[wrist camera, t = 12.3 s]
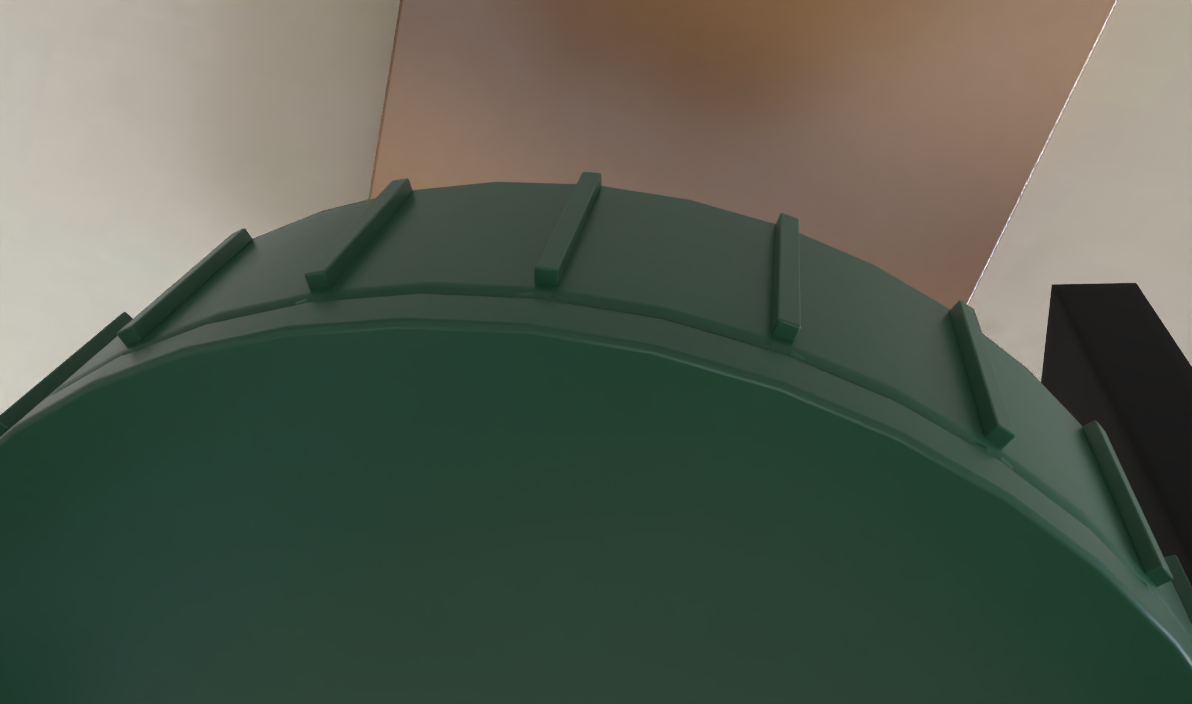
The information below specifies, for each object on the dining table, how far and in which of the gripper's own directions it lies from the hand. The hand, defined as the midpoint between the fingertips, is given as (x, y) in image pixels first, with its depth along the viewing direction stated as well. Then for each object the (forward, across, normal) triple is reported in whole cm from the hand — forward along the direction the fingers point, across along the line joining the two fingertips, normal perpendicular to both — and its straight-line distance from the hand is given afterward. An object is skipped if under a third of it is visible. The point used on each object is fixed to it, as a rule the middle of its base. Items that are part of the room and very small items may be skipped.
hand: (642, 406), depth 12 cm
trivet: (+11, 0, 0) cm, 11 cm away
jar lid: (-6, 0, 0) cm, 6 cm away
